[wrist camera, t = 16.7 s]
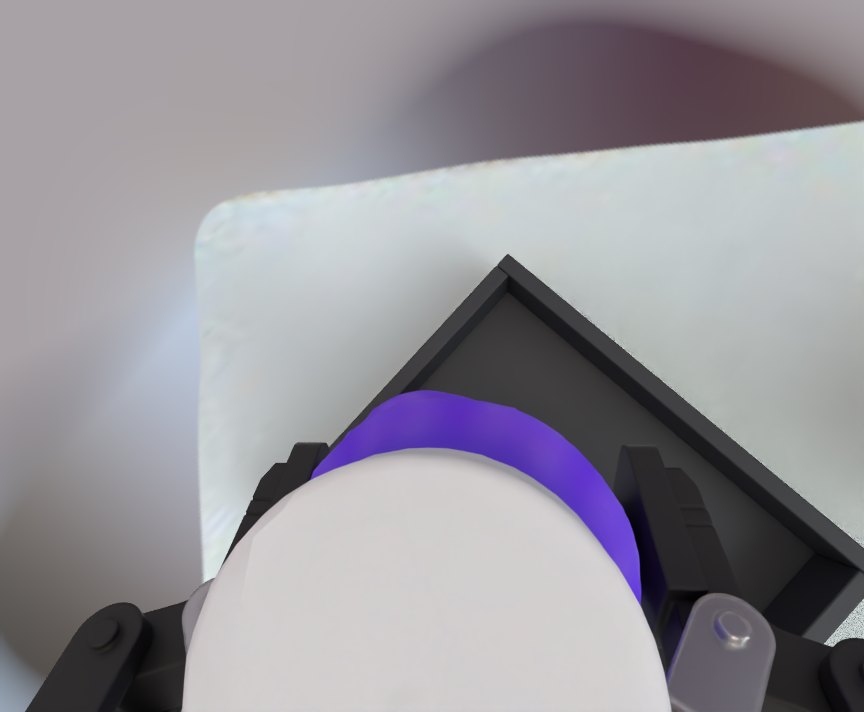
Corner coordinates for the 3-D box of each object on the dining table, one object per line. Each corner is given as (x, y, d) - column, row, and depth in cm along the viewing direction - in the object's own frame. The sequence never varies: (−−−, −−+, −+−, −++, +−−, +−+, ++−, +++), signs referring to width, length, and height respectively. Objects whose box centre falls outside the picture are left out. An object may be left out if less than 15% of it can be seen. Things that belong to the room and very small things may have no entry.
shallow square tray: (506, 275, 28) (507, 252, 25) (833, 549, 24) (890, 569, 21) (288, 512, 28) (257, 524, 24) (584, 829, 24) (599, 898, 20)
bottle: (371, 503, 22) (-102, 772, 4) (439, 386, 22) (244, 218, 5) (525, 601, 20) (695, 1520, 3) (594, 475, 21) (1079, 676, 4)
